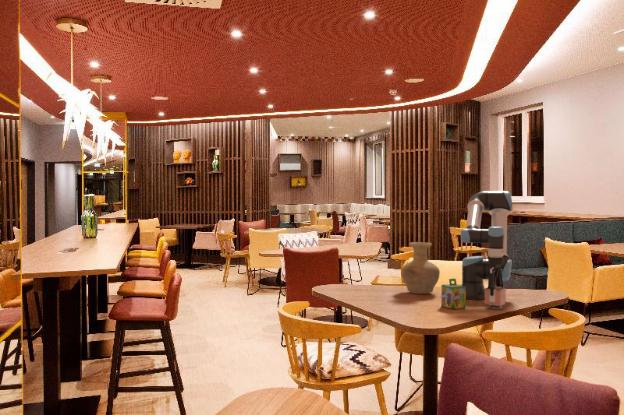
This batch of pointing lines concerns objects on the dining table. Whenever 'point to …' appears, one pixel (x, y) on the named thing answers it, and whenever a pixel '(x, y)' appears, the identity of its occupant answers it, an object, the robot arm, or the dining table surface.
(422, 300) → the dining table surface
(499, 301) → the terracotta cube
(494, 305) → the stud
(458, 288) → the chalk box
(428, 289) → the vase
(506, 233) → the robot arm
